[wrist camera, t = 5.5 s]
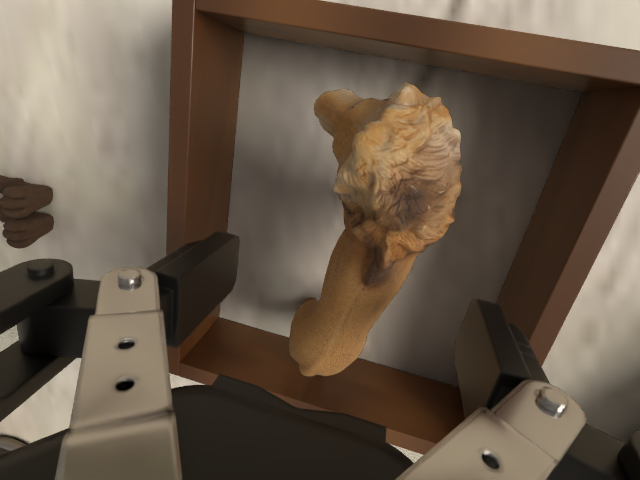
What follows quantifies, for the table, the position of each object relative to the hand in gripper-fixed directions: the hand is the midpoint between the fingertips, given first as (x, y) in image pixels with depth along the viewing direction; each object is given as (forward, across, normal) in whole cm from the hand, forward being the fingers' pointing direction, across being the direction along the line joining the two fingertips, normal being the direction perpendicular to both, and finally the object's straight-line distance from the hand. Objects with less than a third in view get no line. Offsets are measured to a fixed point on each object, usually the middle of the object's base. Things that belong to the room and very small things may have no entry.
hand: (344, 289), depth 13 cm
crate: (+7, 0, 0) cm, 7 cm away
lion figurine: (+8, 0, 0) cm, 8 cm away
